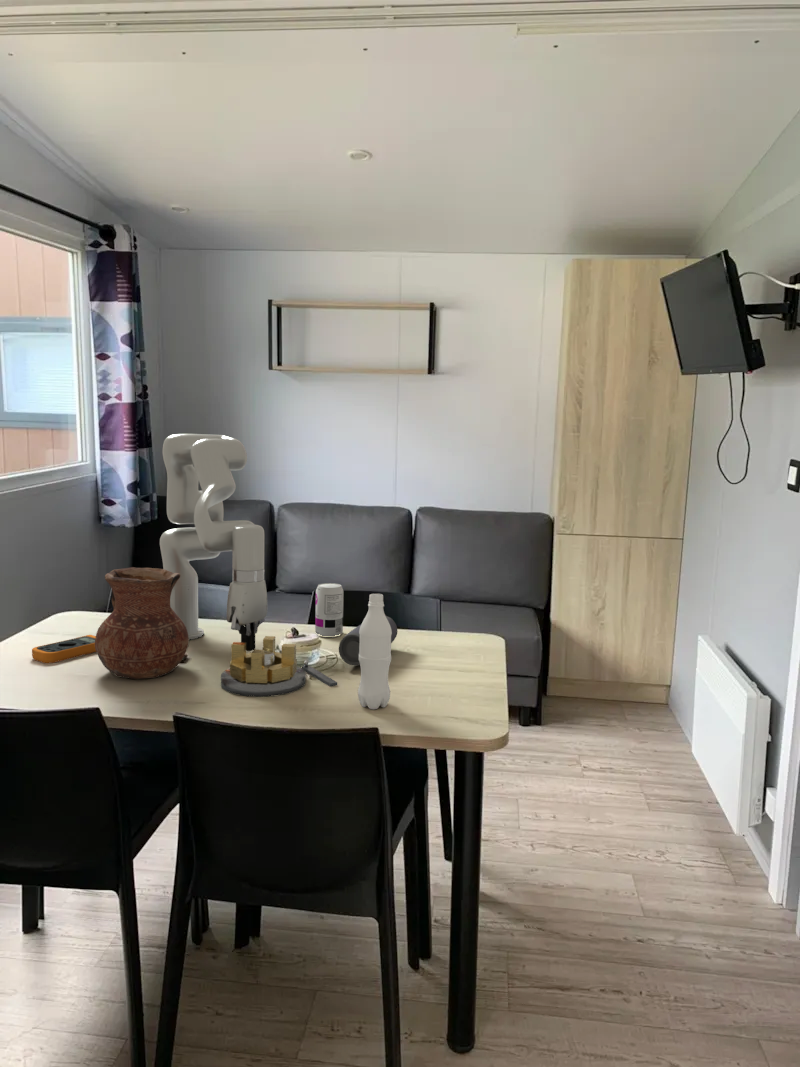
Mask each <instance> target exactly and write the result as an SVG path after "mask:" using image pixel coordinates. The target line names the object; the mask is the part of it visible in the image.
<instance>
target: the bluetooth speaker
mask: <svg viewBox="0 0 800 1067" xmlns="http://www.w3.org/2000/svg"><path fill="white" fill-rule="evenodd" d="M385 616H386V618H387V620H388V622H389V624H390V626H391V630H392V635H391V644H393V643H394V641H395V640H396V638H397V636H398V627H397V624H396V622H395V621H394V620H393V618H392V617H390V616H387V615H385ZM360 626H361V624H359V625H357V626H356V627H355V628H354V629H352V630H351V631H349V632H348V633H346V635H344V636H343V638H342V639H341V640H340V642H339V645H338V654H339V656H340V658H341V660H342V661H343V662H344V663H346V664H347V665H349V666H360V662H359V643H360V634H359V630H360Z"/></svg>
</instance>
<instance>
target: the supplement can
mask: <svg viewBox="0 0 800 1067" xmlns="http://www.w3.org/2000/svg"><path fill="white" fill-rule="evenodd" d="M314 620H315V624H314V625H315V628H314V629H315V631H314V632H316V633H317V634H320V635H322V636H335V635H339V634H341V635H342V634H344V633H343V632H344V631H343V630H344V589H343V586H342V585H341V584H340V583H334V582H333V583H332V582H327V583H326V582H325V583H319V584H318V585H317V587H316V589H315V619H314ZM316 633H315V634H316ZM317 634H316V635H317Z"/></svg>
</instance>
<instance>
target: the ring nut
mask: <svg viewBox="0 0 800 1067" xmlns="http://www.w3.org/2000/svg"><path fill="white" fill-rule="evenodd" d="M230 646H231V649H230V650H231V652H230V653H231V654H230V655H231V661H230V662H229V668H230V675H231V677H233V678H235V679H237V680H239V681H241V682H242V681H246V682H247V683H268V681H269V682H271V683H274V682H278V681H282V680H287V679H290V677H293V676H294V675H295V673H296V671H297V666H298V665H297V664H298V663H297V662H298V661H297V660H298V659H297V656H296V655H297V645H296V643H283V644H282V645H281V652H280V651H279V652H278V651H276V635H275V636H273V635H270V636H269V635H265V636H264V638H263V639H262V649H256V648H255V649H254V650H252V651H251V652H249V653H247V651H246V642H241V641H233V642H232V643H231V644H230ZM265 651H269V652H273V653H274V665H273V666H268V667H265Z"/></svg>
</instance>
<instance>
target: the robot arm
mask: <svg viewBox="0 0 800 1067" xmlns="http://www.w3.org/2000/svg"><path fill="white" fill-rule="evenodd" d="M162 458H163V463H164V466H165V469H166V473H167V474H166V475H167V485H166V515H167V519H168V521H169V522H170V523H172V524H176V525H194V527H177V528H171V529H168V530H166V531H164V532H162V534H161V536H160V538H159V547H160V554H161V559H162V560H161V561H162V567H163V568H162V569H165V570H168V571H170V572H172V573H179V574H180V575H181V576H180V578H179V579H178V581H177V582H176V584H175V586H174V587H173V589H172V592H171V596H170V607H171V608H172V609H173V611H174V612H175V613H176V614H177V615H178V616H179V618H180V619H181V620H182V621H183V623H184V624H185V626H186V629H187V632H188V637H189V641H190V639H191V640H195V639H194V638H196V639H199V638H202V637H203V636H204V635H203V634H205V633H204V632H205V631H204V629H202V628H201V627H199V577H198V574H197V571H196V570H195V568H194V567H193V566H192V565H191V563H190V561H196V560H197V561H199V560H209V559H215V558H217V557H219V555H220V554H221V553H224V552H232V559H231V560H232V567H231V568H232V574H231V575H232V579H231V580H232V582H230V583H229V588H228V593H227V601H226V602H227V603H226V621H227V622H228V623H231V625H230V630H233V631H238V633H239V635H240V642H246V652H253V650H254V649H256V634H258V628H259V626H260V625H261V624H263V623H265V621H266V620H265V618H266V617H267V615H268V593H267V584H266V580H265V571H266V570H265V530H264V528H263V526H262V525H259V524H255V523H254V522H252V521H251V520H246V519H245V520H244V519H243V520H241V519H239V520H224V513H225V512H224V502H223V501H225V500H227V499H229V498H230V497H231V496H232V495H233V494H234V493H235V491H236V488H237V486H236V482H235V479H234V476H233V474H232V471H241V470H243V469H244V468H245V467H246V465H247V462H248V461H247V460H248V454H247V450H246V447H245V446H244V444H243V443H242V442H241V440H239V439H237V438H235V437H230V436H228V435H224V434H209V433H208V434H207V433H206V434H205V433H204V434H203V433H202V434H201V433H175V434H170V435H168V436H167V437H166V438H165V439H164V440H163V445H162ZM199 485H200V488H201V490H199ZM202 635H203V636H202ZM198 637H199V638H198Z"/></svg>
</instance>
